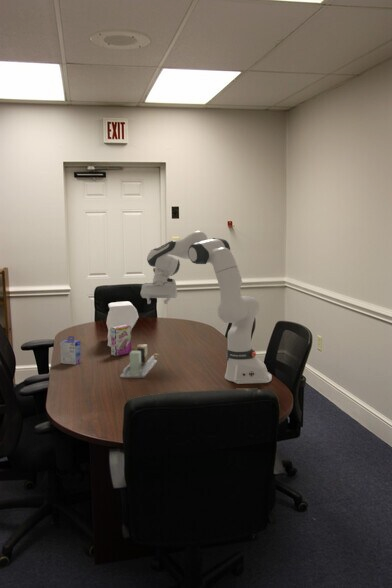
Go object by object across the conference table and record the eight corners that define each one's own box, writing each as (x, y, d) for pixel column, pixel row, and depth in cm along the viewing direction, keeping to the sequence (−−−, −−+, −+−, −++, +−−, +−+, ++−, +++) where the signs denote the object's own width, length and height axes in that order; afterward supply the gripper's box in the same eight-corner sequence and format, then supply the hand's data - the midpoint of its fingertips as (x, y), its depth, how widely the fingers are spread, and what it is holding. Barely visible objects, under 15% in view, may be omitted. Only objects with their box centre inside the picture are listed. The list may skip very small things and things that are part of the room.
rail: (156, 361, 266) (156, 342, 265) (144, 377, 239) (143, 355, 237) (135, 361, 268) (134, 341, 267) (120, 377, 241) (119, 355, 239)
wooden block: (147, 362, 261) (147, 344, 260) (145, 365, 256) (144, 347, 254) (139, 362, 262) (138, 344, 261) (136, 365, 257) (136, 346, 255)
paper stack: (104, 349, 296) (102, 307, 292) (107, 338, 322) (105, 300, 318) (139, 347, 298) (138, 305, 294) (139, 337, 324) (138, 298, 321)
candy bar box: (116, 356, 278) (114, 328, 276) (111, 355, 281) (109, 327, 279) (132, 352, 286) (130, 325, 283) (126, 351, 289) (125, 324, 287)
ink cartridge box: (82, 362, 268) (80, 336, 266) (76, 365, 263) (74, 338, 261) (66, 360, 272) (65, 335, 270) (60, 363, 267) (59, 337, 265)
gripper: (141, 279, 274) (137, 299, 266) (177, 279, 271) (174, 299, 263) (143, 286, 279) (139, 306, 271) (179, 286, 276) (176, 306, 268)
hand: (157, 303), depth 267 cm, fingers open, 8 cm apart
